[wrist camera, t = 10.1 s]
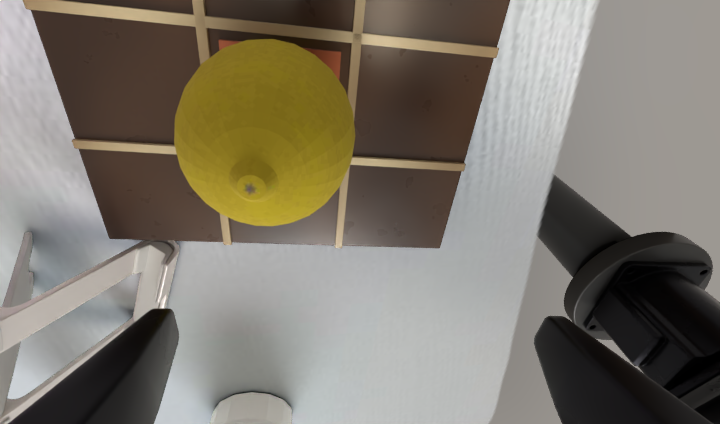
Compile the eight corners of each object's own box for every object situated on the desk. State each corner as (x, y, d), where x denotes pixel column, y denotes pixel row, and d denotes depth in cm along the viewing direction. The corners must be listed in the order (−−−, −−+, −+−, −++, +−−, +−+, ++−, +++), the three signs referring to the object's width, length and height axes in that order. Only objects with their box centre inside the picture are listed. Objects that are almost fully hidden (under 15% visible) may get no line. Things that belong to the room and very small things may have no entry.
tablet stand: (162, 333, 24) (97, 472, 17) (29, 307, 22) (-107, 455, 15) (184, 241, 20) (111, 372, 13) (26, 198, 18) (-161, 330, 11)
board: (522, -105, 13) (546, -116, 12) (433, 233, 22) (440, 251, 20) (-7, -195, 11) (-55, -222, 10) (122, 223, 19) (106, 241, 18)
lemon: (217, 11, 13) (104, 34, 6) (360, 46, 14) (393, 97, 7) (215, 147, 16) (135, 264, 9) (335, 168, 17) (342, 285, 10)
